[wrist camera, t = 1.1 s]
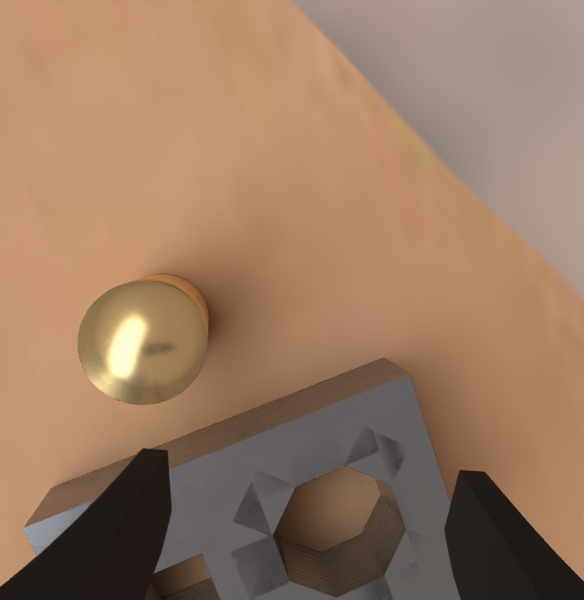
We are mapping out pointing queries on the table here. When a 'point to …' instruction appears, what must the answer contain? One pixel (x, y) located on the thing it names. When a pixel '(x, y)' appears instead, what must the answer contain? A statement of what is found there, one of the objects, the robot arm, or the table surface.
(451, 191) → the table surface
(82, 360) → the brass fitting
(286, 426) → the grey flat block
